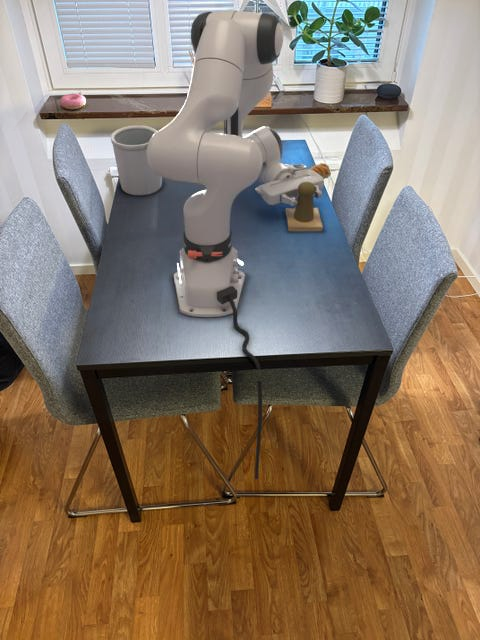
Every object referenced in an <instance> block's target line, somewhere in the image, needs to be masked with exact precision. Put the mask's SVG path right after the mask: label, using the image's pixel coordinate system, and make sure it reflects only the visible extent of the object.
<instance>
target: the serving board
mask: <svg viewBox="0 0 480 640" xmlns="http://www.w3.org/2000/svg"><path fill="white" fill-rule="evenodd" d="M295 209H296V207H285V216H286V217H285V218H286V223H287V224H286V225H287V230H288V232H296V233H297V232H300V233H301V232H323V228H324V227H323V223H322V218H321V214H320V210H319V207H313V212H314V219H313V220H312V221H310V222H299V221H297V220H295V218H294V213H295Z"/></svg>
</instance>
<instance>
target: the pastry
mask: <svg viewBox="0 0 480 640" xmlns="http://www.w3.org/2000/svg"><path fill="white" fill-rule="evenodd" d="M309 169H310V170H313V171H314V172H316V173H317V174H319V175H320V176H322V177H323V179H324V180H325V179H328V178H329V177H330V176H331V175H332V172H331V169H330V166H329V165H328V164H327V163H322V162H320V163H318V164H315V165H311V167H309Z"/></svg>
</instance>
